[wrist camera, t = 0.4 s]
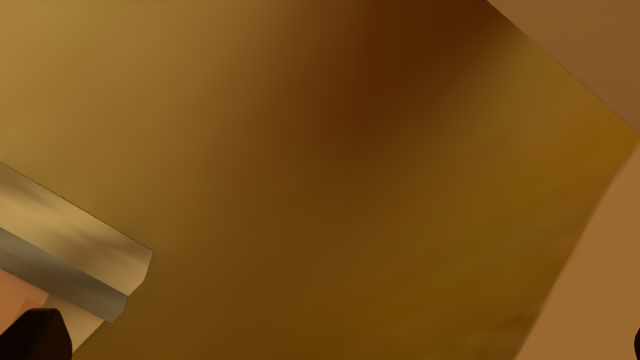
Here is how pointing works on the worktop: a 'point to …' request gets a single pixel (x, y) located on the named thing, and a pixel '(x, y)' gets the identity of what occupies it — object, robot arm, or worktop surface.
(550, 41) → the milk carton
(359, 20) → the worktop surface
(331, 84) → the worktop surface
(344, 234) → the worktop surface
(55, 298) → the slider board
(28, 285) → the fader tab
